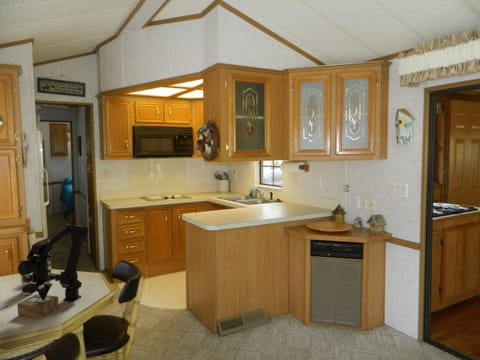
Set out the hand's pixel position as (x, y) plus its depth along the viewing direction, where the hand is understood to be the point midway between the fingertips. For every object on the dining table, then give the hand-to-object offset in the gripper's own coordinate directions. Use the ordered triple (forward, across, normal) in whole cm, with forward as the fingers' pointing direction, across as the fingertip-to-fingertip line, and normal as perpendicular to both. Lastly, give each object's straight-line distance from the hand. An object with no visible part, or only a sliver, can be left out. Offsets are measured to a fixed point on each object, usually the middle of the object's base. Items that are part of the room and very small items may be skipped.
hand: (43, 299), depth 183 cm
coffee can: (+7, -38, -37) cm, 53 cm away
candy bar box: (+7, -20, -28) cm, 35 cm away
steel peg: (+6, 0, -6) cm, 9 cm away
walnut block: (+6, 0, -3) cm, 7 cm away
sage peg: (+6, 0, 0) cm, 6 cm away
